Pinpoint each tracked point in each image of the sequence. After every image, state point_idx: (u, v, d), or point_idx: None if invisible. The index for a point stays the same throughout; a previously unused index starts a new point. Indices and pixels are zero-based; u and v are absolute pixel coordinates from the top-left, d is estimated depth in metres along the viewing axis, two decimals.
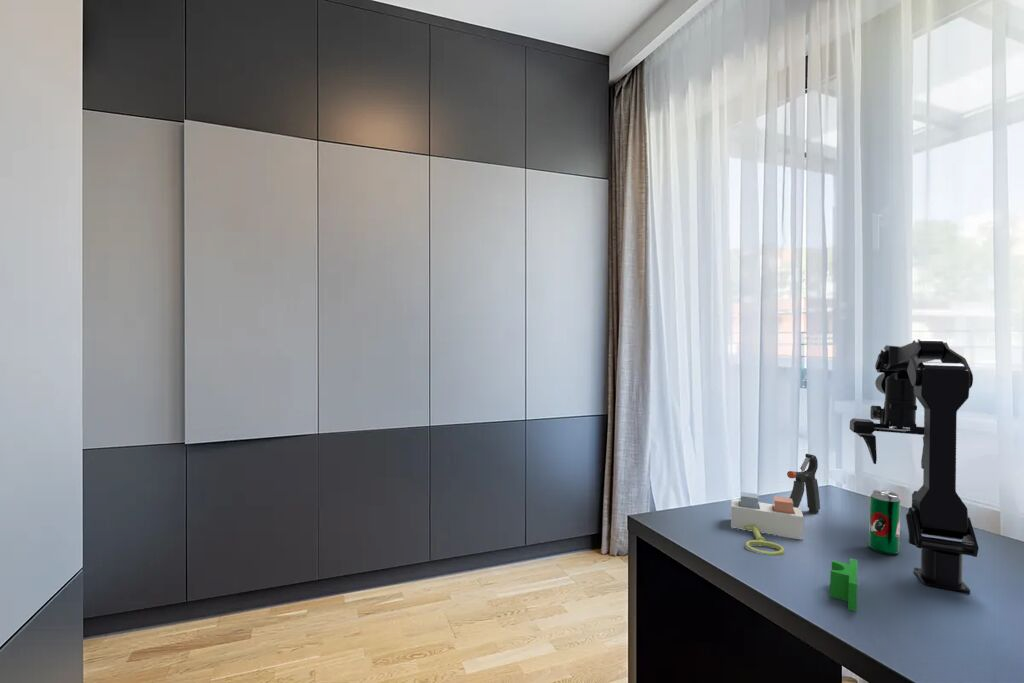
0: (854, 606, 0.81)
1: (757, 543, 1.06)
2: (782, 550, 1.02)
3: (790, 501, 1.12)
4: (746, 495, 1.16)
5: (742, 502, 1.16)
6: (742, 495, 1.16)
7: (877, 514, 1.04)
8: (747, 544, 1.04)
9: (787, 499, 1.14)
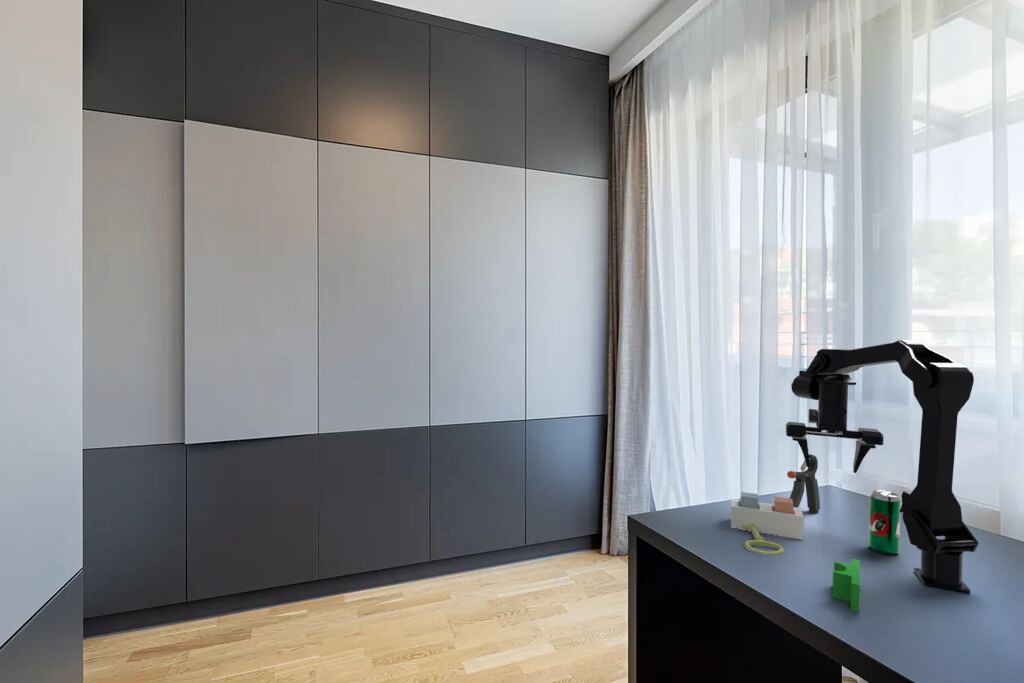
0: (857, 607, 0.81)
1: (756, 543, 1.06)
2: (782, 549, 1.02)
3: (790, 501, 1.12)
4: (746, 495, 1.16)
5: (742, 502, 1.16)
6: (742, 495, 1.16)
7: (877, 514, 1.04)
8: (747, 544, 1.05)
9: (787, 499, 1.14)
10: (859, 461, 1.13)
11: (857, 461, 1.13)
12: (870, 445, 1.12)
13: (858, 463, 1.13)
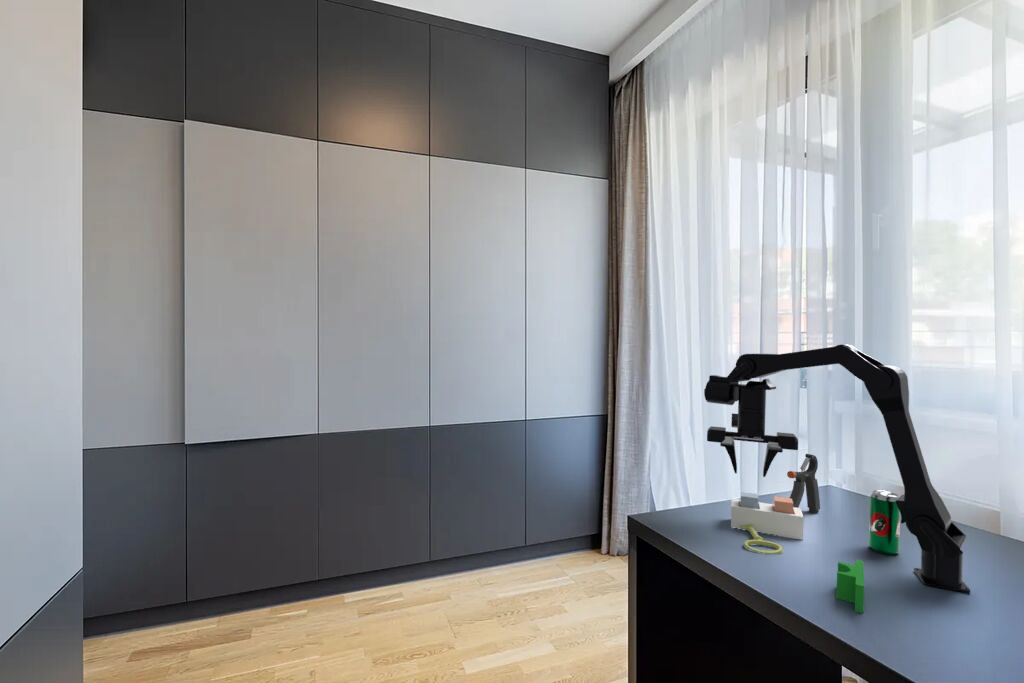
0: (861, 608, 0.80)
1: (755, 542, 1.06)
2: (781, 549, 1.03)
3: (790, 501, 1.12)
4: (746, 495, 1.16)
5: (742, 502, 1.16)
6: (742, 495, 1.16)
7: (877, 514, 1.04)
8: (746, 544, 1.05)
9: (787, 499, 1.14)
10: (768, 465, 1.14)
11: (766, 465, 1.14)
12: (777, 449, 1.12)
13: (767, 467, 1.14)
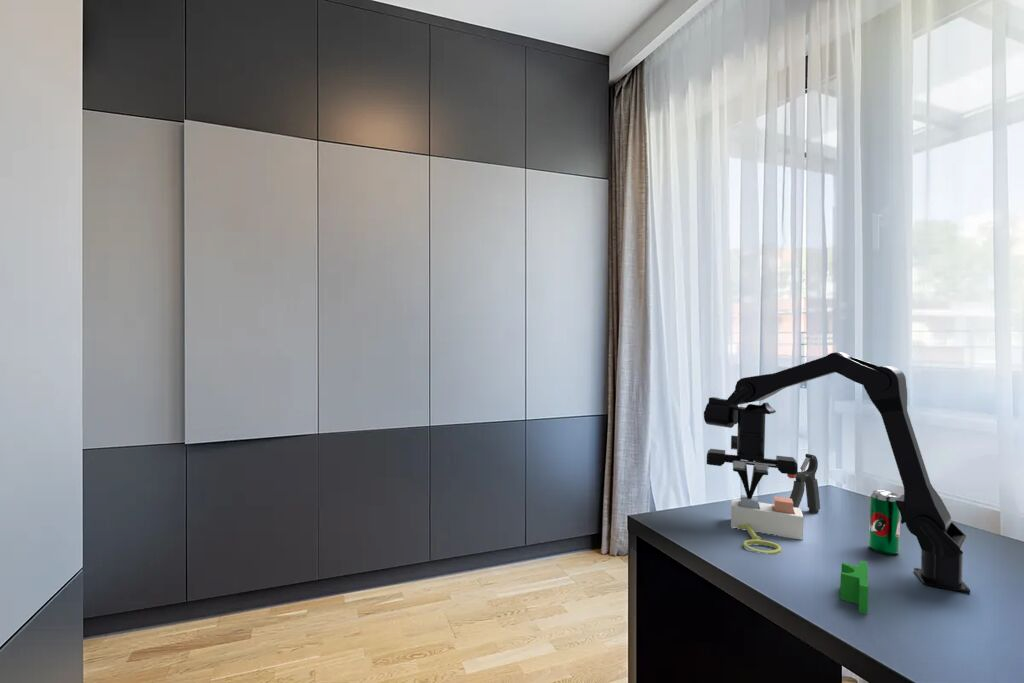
0: (865, 609, 0.80)
1: (754, 542, 1.06)
2: (780, 548, 1.03)
3: (790, 501, 1.12)
4: (746, 498, 1.16)
5: (742, 505, 1.16)
6: (742, 498, 1.16)
7: (877, 514, 1.04)
8: (745, 544, 1.05)
9: (787, 499, 1.14)
10: (754, 487, 1.15)
11: (752, 487, 1.15)
12: (763, 472, 1.13)
13: (753, 489, 1.15)
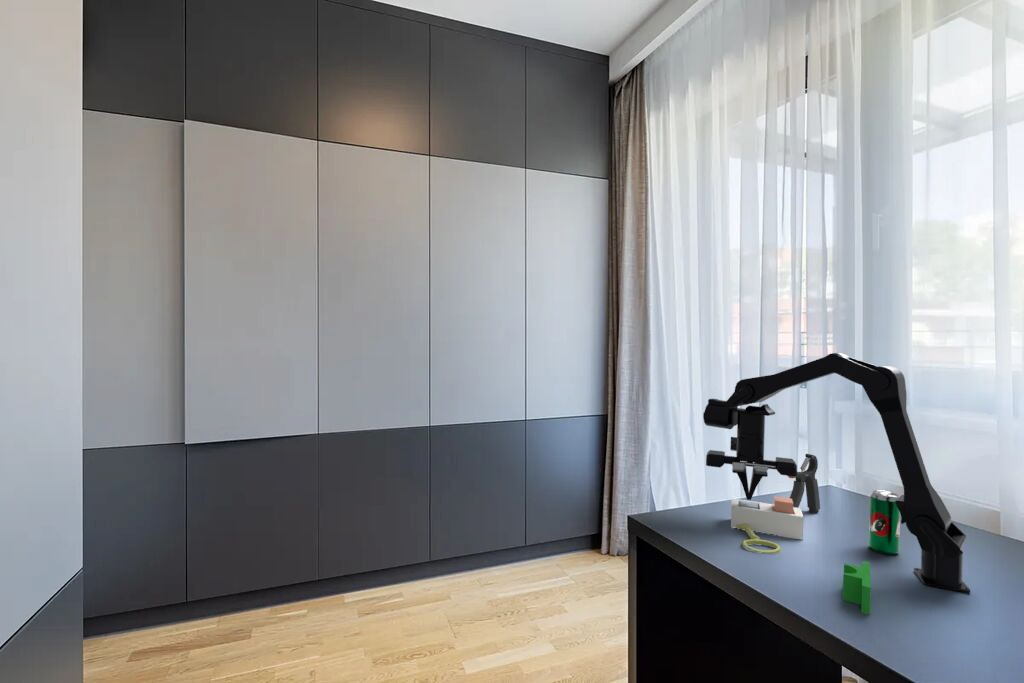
0: (868, 610, 0.80)
1: (753, 542, 1.06)
2: (779, 548, 1.03)
3: (790, 501, 1.12)
4: (746, 504, 1.16)
5: None
6: (742, 504, 1.16)
7: (877, 514, 1.04)
8: (744, 544, 1.05)
9: (787, 499, 1.14)
10: (753, 488, 1.15)
11: (751, 489, 1.15)
12: (762, 473, 1.13)
13: (752, 490, 1.15)
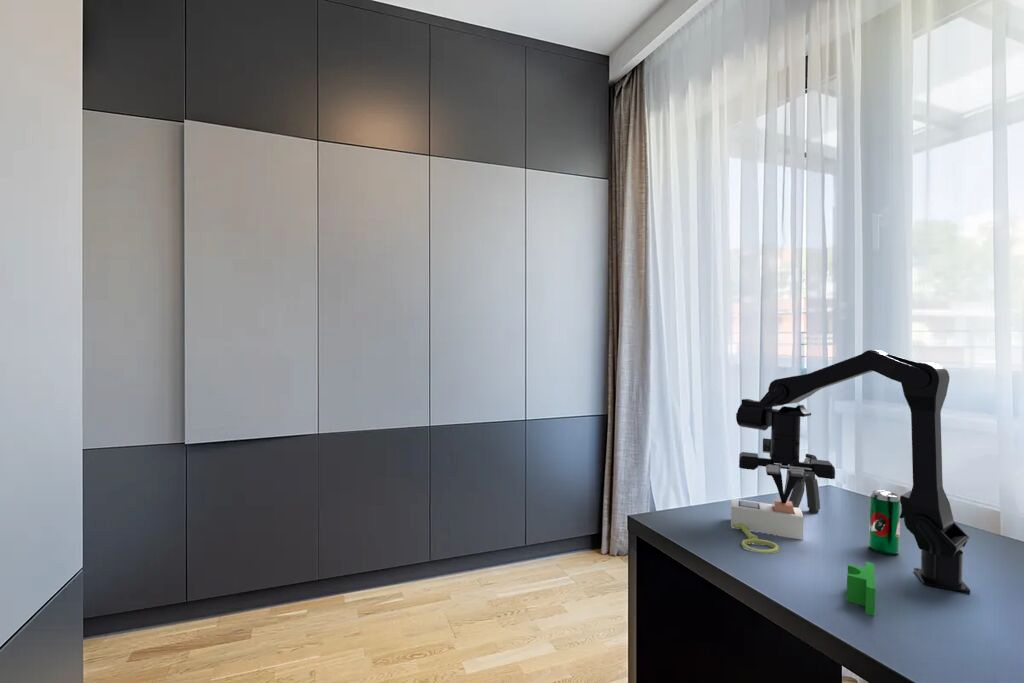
0: (872, 611, 0.80)
1: (751, 542, 1.06)
2: (777, 547, 1.04)
3: (790, 504, 1.13)
4: (746, 504, 1.16)
5: None
6: (742, 504, 1.16)
7: (877, 514, 1.04)
8: (743, 543, 1.05)
9: (787, 502, 1.14)
10: (788, 491, 1.12)
11: (786, 491, 1.12)
12: (798, 476, 1.10)
13: (787, 493, 1.12)
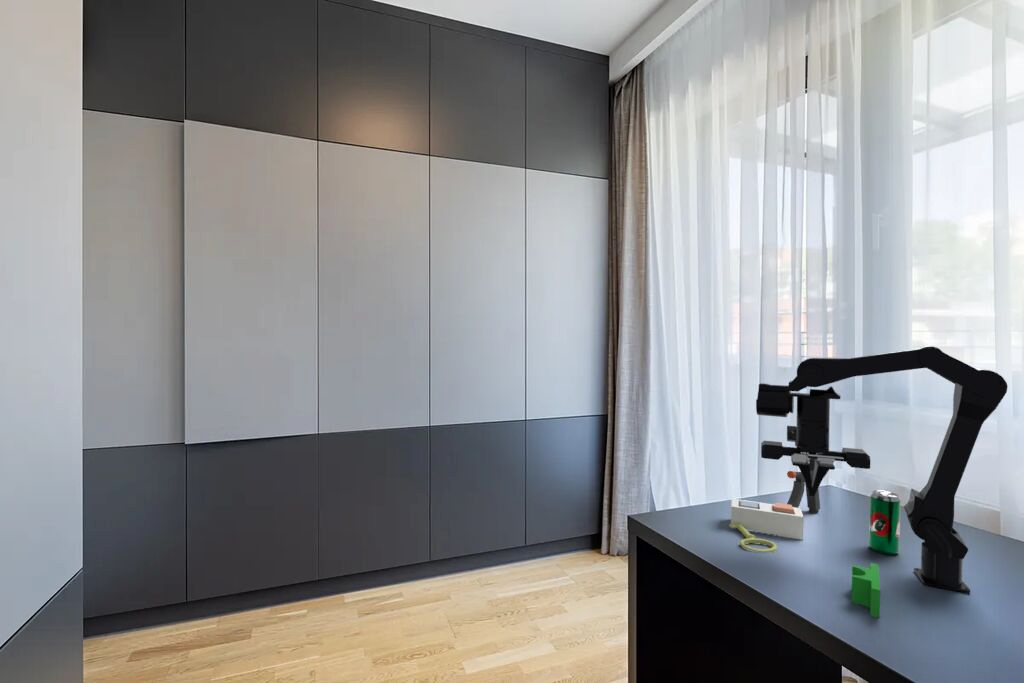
0: (877, 612, 0.79)
1: (750, 541, 1.06)
2: (775, 546, 1.04)
3: (790, 507, 1.13)
4: (746, 504, 1.16)
5: None
6: (742, 504, 1.16)
7: (877, 514, 1.04)
8: (742, 543, 1.05)
9: (787, 505, 1.14)
10: (817, 483, 1.01)
11: (815, 484, 1.01)
12: (829, 466, 0.99)
13: (816, 486, 1.01)
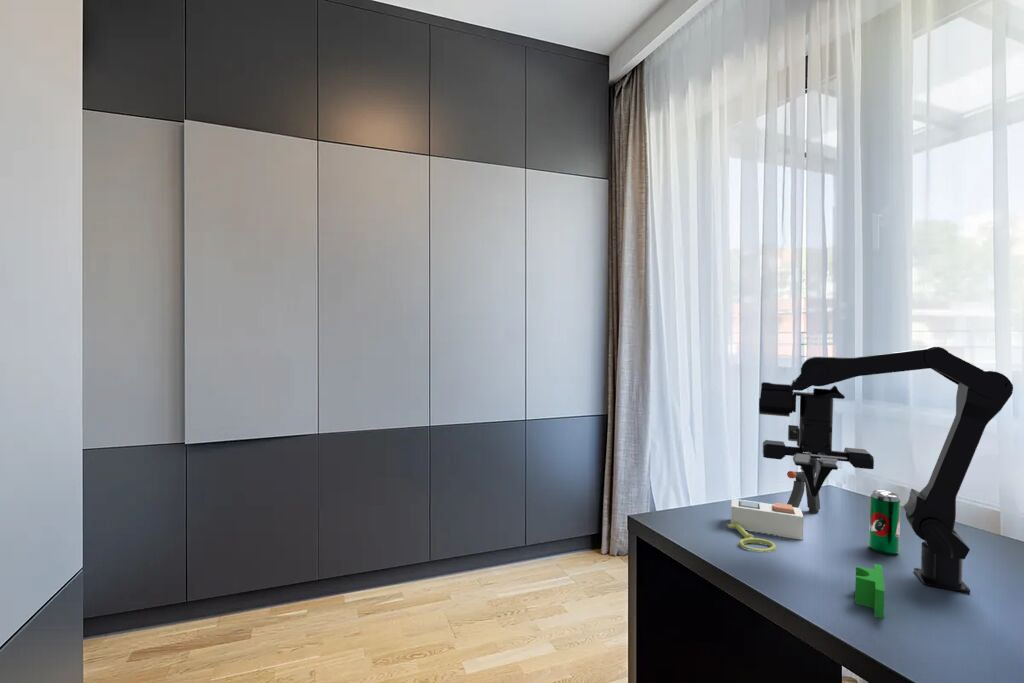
0: (881, 613, 0.79)
1: (748, 541, 1.07)
2: (774, 545, 1.04)
3: (790, 507, 1.13)
4: (746, 504, 1.16)
5: None
6: (742, 504, 1.16)
7: (877, 514, 1.04)
8: (742, 543, 1.05)
9: (787, 505, 1.14)
10: (820, 483, 1.00)
11: (817, 484, 1.00)
12: (832, 466, 0.98)
13: (818, 486, 1.00)
